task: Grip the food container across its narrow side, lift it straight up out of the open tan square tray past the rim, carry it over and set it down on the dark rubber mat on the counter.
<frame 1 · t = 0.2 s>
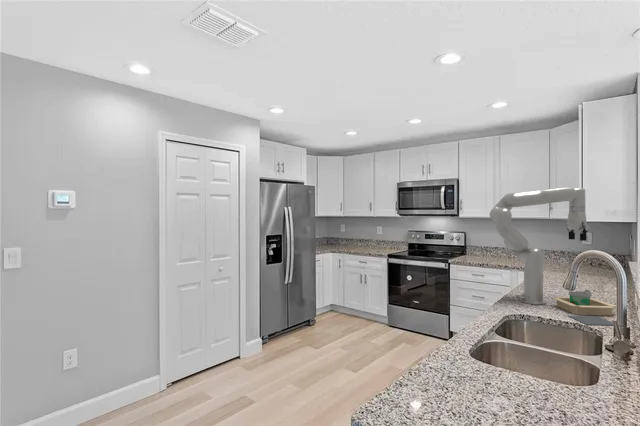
hand: (577, 239, 201), 36 cm above the worktop, tool pointing down, fingers open, 9 cm apart
tan square tray: (583, 310, 186), on the worktop
mat: (592, 320, 168), on the worktop
food container: (583, 310, 186), resting in tan square tray
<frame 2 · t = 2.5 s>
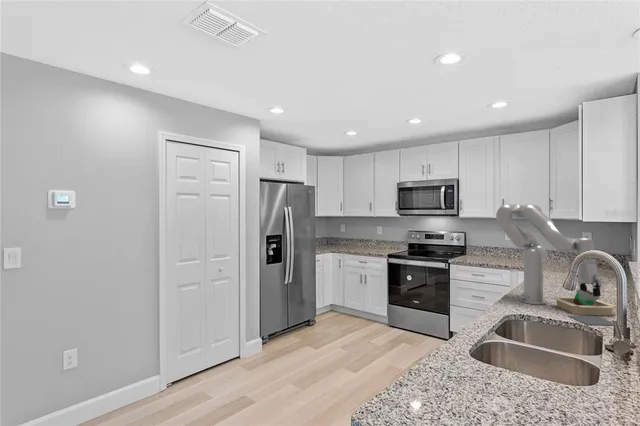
hand: (590, 294, 184), 9 cm above the worktop, tool pointing down, fingers open, 9 cm apart
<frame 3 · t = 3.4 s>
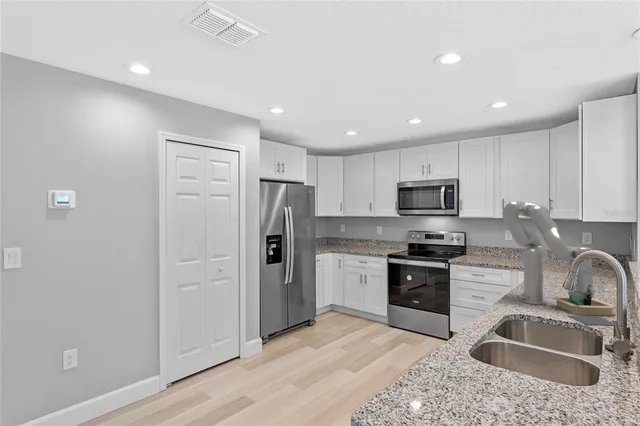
hand: (583, 304, 186), 3 cm above the worktop, tool pointing down, fingers closed on food container, 6 cm apart
food container: (583, 311, 186), resting in tan square tray, touching gripper
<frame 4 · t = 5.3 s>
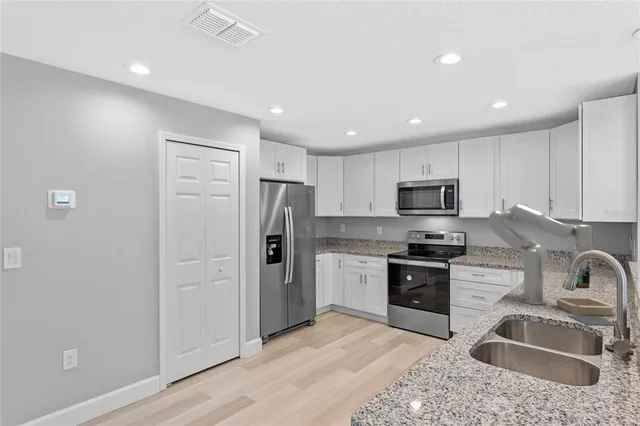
hand: (581, 281, 187), 15 cm above the worktop, tool pointing down, fingers closed on food container, 5 cm apart
food container: (582, 288, 186), point 12 cm above the worktop, touching gripper
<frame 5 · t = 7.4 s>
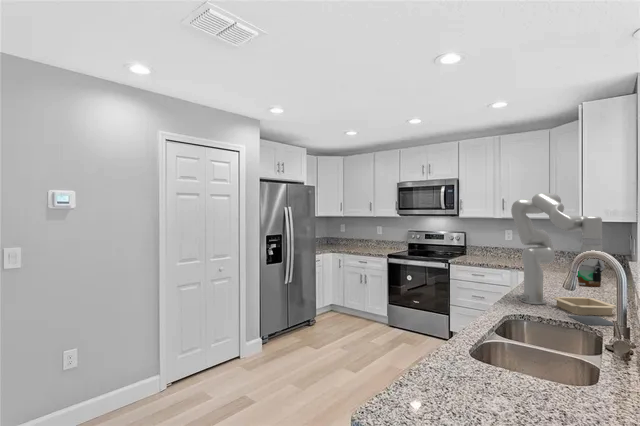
hand: (592, 279, 168), 19 cm above the worktop, tool pointing down, fingers closed on food container, 5 cm apart
food container: (593, 287, 167), point 16 cm above the worktop, touching gripper
when the fingers open (5 cm above the worktop, at t = 10.6 s): food container drops 1 cm, resting on mat.
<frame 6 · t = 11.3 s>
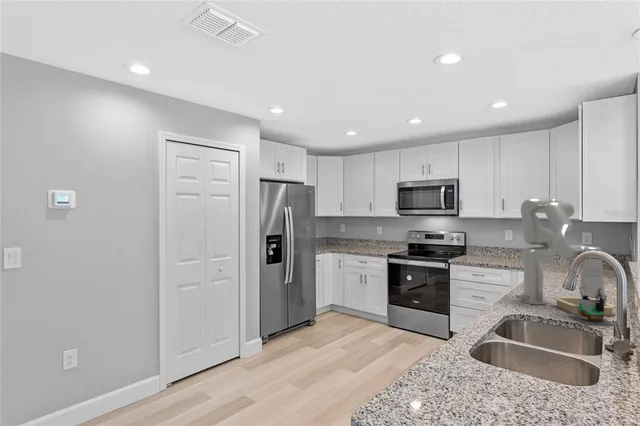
hand: (592, 308, 168), 6 cm above the worktop, tool pointing down, fingers open, 9 cm apart
food container: (595, 321, 166), resting on mat, touching gripper
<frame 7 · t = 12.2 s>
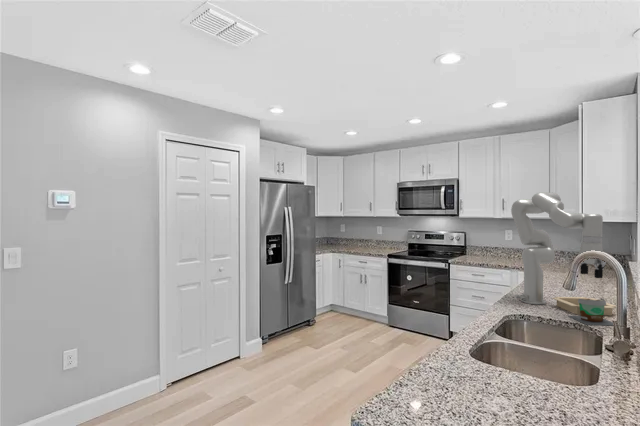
hand: (591, 275, 168), 21 cm above the worktop, tool pointing down, fingers open, 9 cm apart
food container: (595, 321, 166), resting on mat
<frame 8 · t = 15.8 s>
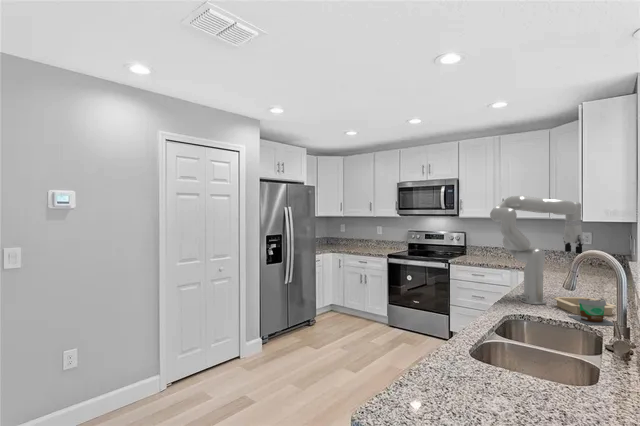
hand: (573, 252, 207), 28 cm above the worktop, tool pointing down, fingers open, 9 cm apart
nothing on the worktop moved.
at the end: food container inside the target area on the mat (1.7 cm from its centre), point 0.2 cm above the mat's base; food container tilted 0°; the gripper is holding nothing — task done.
